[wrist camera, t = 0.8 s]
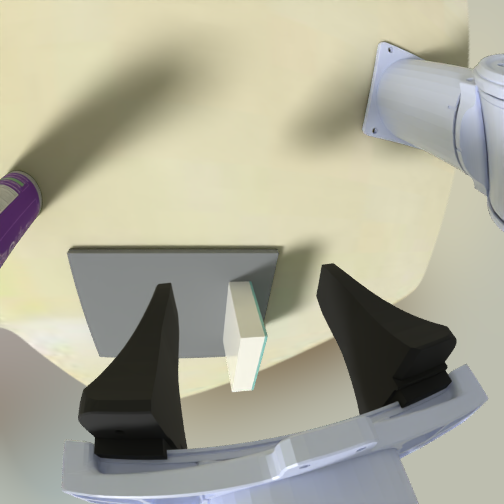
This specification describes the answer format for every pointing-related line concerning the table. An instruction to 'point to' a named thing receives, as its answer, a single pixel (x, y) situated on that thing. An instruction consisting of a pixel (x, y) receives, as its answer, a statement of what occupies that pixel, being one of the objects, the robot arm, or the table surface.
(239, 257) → the mat
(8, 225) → the container
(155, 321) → the robot arm
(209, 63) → the table surface
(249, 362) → the tile
